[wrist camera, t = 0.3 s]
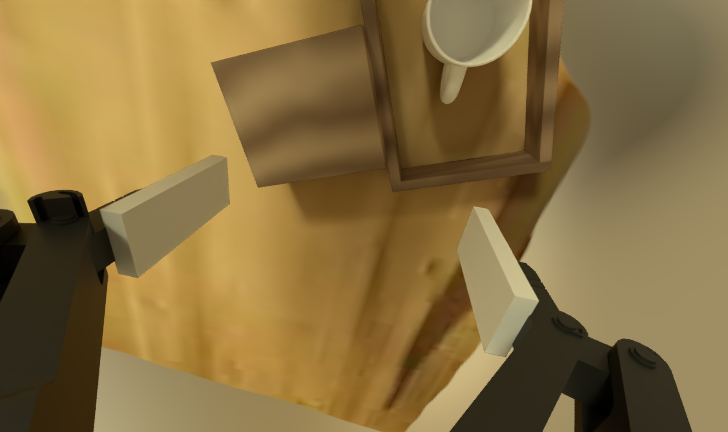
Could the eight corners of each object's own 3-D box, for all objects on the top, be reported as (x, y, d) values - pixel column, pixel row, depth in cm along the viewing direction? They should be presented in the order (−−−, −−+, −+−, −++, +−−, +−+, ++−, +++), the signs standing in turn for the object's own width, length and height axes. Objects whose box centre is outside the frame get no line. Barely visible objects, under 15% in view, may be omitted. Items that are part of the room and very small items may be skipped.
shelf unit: (231, 16, 36) (189, 5, 29) (546, -73, 29) (591, -116, 22) (290, 193, 46) (269, 217, 39) (534, 158, 39) (562, 179, 32)
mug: (472, 103, 37) (494, 118, 28) (406, 92, 37) (406, 102, 28) (509, -17, 31) (552, -48, 22) (431, -29, 32) (441, -65, 22)
